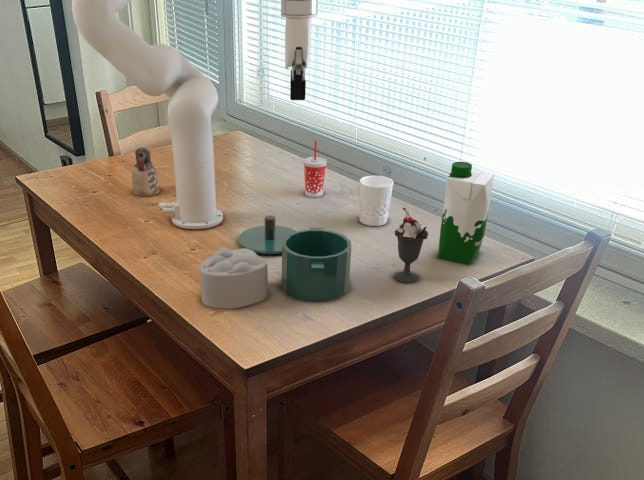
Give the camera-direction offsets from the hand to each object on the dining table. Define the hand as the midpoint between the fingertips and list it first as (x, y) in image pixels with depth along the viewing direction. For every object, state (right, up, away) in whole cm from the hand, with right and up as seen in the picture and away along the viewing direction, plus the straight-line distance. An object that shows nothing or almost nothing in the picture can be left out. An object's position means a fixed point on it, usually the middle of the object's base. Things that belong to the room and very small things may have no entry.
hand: (297, 94), depth 157 cm
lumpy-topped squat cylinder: (-14, -45, -13) cm, 49 cm away
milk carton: (+36, -35, +1) cm, 50 cm away
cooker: (+3, -43, -10) cm, 44 cm away
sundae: (+22, -41, -7) cm, 47 cm away
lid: (-6, -31, +7) cm, 32 cm away
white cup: (+19, -24, +18) cm, 36 cm away
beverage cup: (+6, -14, +33) cm, 37 cm away
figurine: (-39, -13, +36) cm, 55 cm away
